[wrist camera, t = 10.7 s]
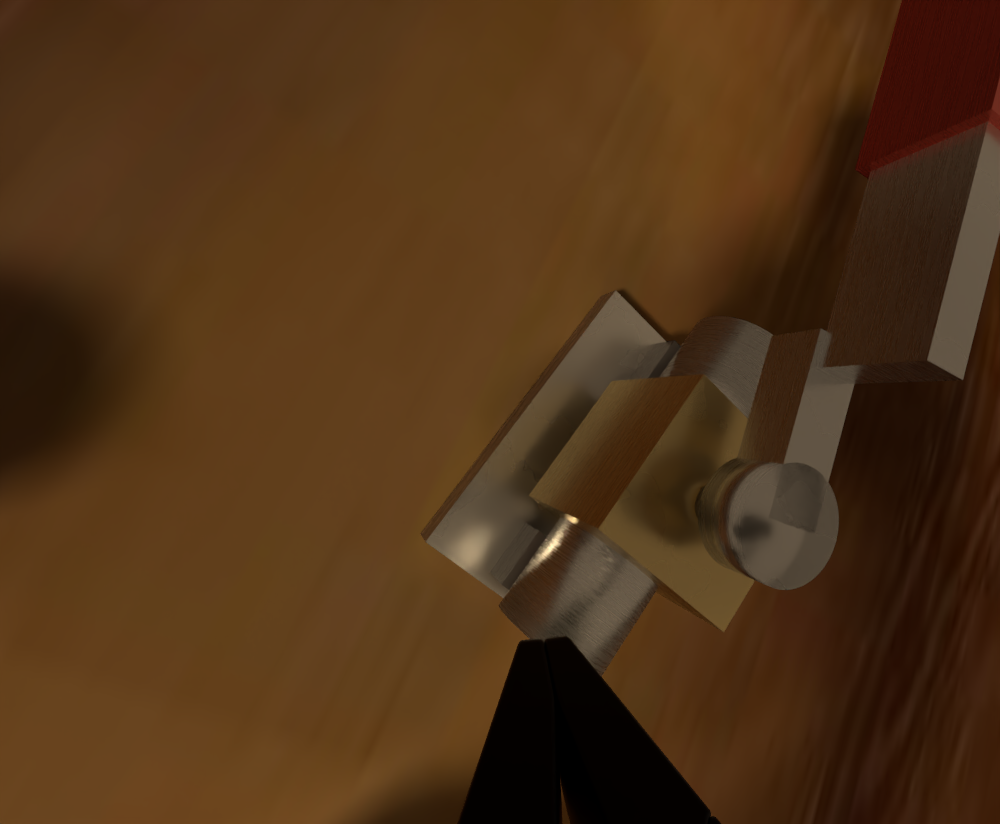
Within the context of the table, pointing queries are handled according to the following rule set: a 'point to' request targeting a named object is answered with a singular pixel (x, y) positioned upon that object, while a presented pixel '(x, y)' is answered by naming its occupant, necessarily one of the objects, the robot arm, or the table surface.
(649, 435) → the stand
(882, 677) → the table surface
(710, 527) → the valve lever
